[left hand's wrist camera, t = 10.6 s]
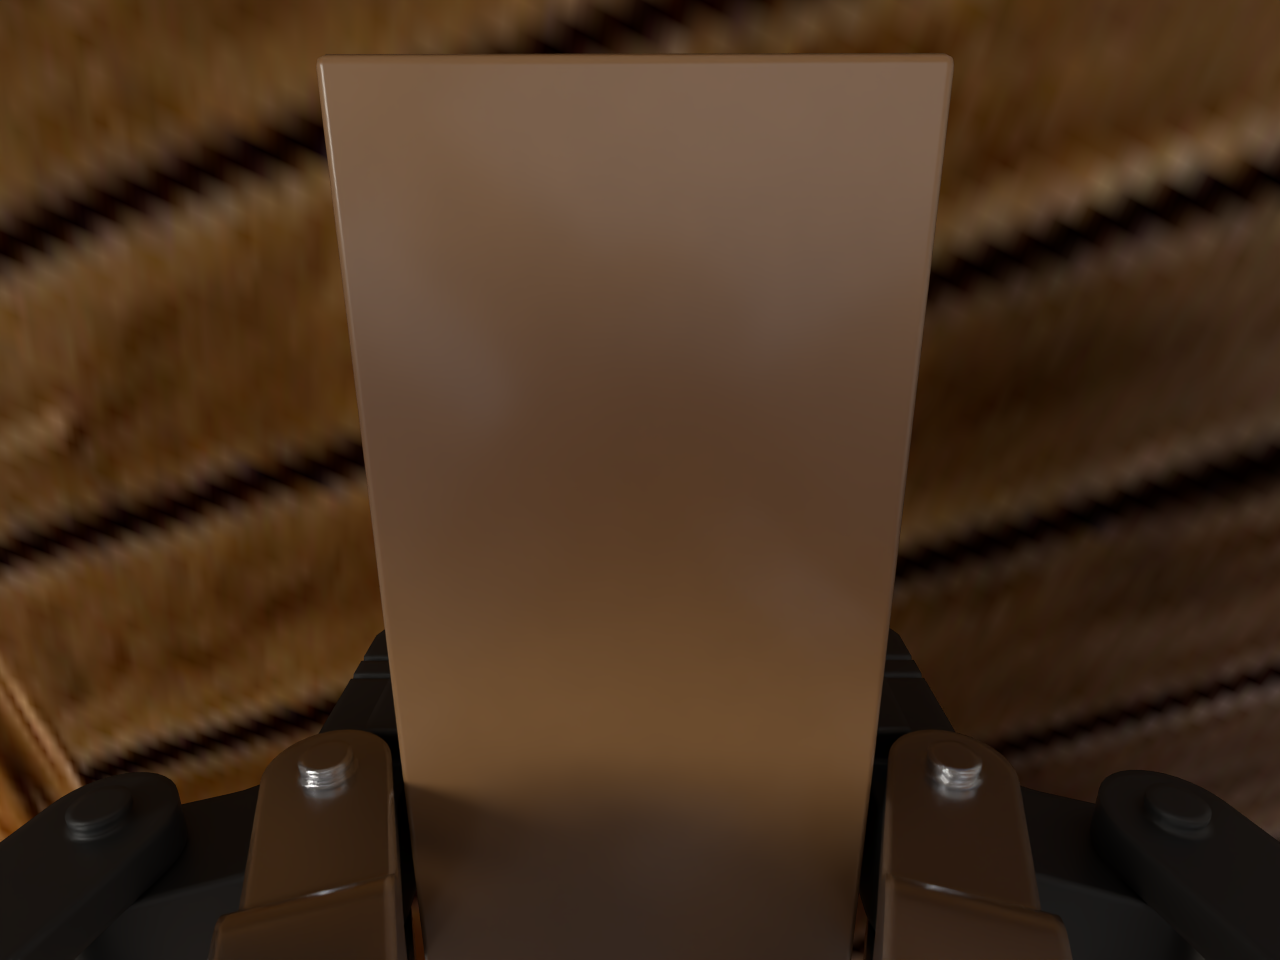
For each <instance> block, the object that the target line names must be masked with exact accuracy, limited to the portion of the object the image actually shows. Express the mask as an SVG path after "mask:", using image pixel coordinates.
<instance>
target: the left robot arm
mask: <svg viewBox="0 0 1280 960" xmlns="http://www.w3.org/2000/svg"><path fill="white" fill-rule="evenodd" d="M416 889H417V888H416V880H415V871H414V863H413V855H412V847H411V839H410V831H409V822H408V814H407V806H406V798H405V790H404V781H403V773H402V765H401V757H400V749H399V740H398V732H397V724H396V716H395V708H394V699H393V691H392V683H391V675H390V667H389V659H388V650H387V642H386V634H385V630H383V631H382V632H381V633H379V634H378V635H377V636H376V637H375V639H374V641H373V642H372V644H371V646H370V647H369V649H368V651H367V653H366V654H365V656H364V661H361V663H360V664H359V666H358V668H357V670H356V671H355V673H354V678H353V679H351V680H350V681H349V683H348V685H347V686H346V688H345V690H344V692H343V693H342V695H341V697H340V698H339V700H338V702H337V703H336V705H335V707H334V709H333V710H332V712H331V714H330V715H329V717H328V719H327V720H326V722H325V724H324V726H323V727H322V729H321V731H320V732H319V734H317V735H314V736H311V737H308V738H306V739H304V740H301V741H299V742H297V743H295V744H294V745H292V746H290V747H288V748H287V749H286V750H284V751H283V752H281V753H280V754H279V755H278V756H277V757H276V758H275V759H273V760H272V762H271V763H270V764H269V765H268V767H267V768H266V770H265V772H264V773H263V775H262V779H261V782H260V785H257V786H255V787H252V788H249V789H246V790H243V791H239V792H235V793H231V794H227V795H222V796H218V797H213V798H208V799H204V800H199V801H195V802H190V803H186V804H181V802H180V798H179V793H178V790H177V788H176V785H175V784H174V783H173V782H172V781H171V780H170V779H168V778H167V777H165V776H162V775H159V774H156V773H149V772H134V773H125V774H120V775H115V776H111V777H107V778H104V779H100V780H98V781H95V782H92V783H90V784H87V785H85V786H83V787H80V788H78V789H76V790H74V791H72V792H70V793H69V794H67V795H65V796H63V797H62V798H60V799H59V800H57V801H56V802H54V803H53V804H51V805H50V806H49V807H47V808H46V809H44V810H43V811H42V812H40V813H39V814H38V815H36V816H35V817H34V818H32V819H31V820H30V821H28V822H27V823H26V824H24V825H23V826H22V827H20V828H19V829H18V830H16V831H15V832H14V833H12V834H11V835H10V836H8V837H7V838H6V839H4V840H3V841H1V842H0V960H416V946H415V933H414V925H413V918H412V910H411V905H412V902H413V898H414V895H415V892H416ZM859 893H860V896H861V899H862V903H863V906H864V909H865V912H866V915H867V917H868V918H867V925H866V933H865V946H864V960H1280V842H1278V841H1277V840H1276V839H1274V838H1273V837H1272V836H1270V835H1269V834H1268V833H1266V832H1265V831H1264V830H1262V829H1261V828H1260V827H1258V826H1257V825H1256V824H1254V823H1253V822H1252V821H1250V820H1249V819H1248V818H1246V817H1245V816H1244V815H1242V814H1241V813H1240V812H1238V811H1237V810H1235V809H1234V808H1233V807H1231V806H1230V805H1229V804H1227V803H1226V802H1225V801H1223V800H1222V799H1220V798H1219V797H1217V796H1216V795H1214V794H1212V793H1211V792H1209V791H1207V790H1205V789H1204V788H1202V787H1199V786H1197V785H1195V784H1193V783H1191V782H1188V781H1186V780H1183V779H1180V778H1178V777H1174V776H1171V775H1167V774H1164V773H1159V772H1154V771H1145V770H1127V771H1120V772H1117V773H1114V774H1112V775H1110V776H1108V777H1107V778H1105V780H1104V781H1103V782H1102V783H1101V786H1100V788H1099V792H1098V796H1097V800H1096V804H1093V803H1089V802H1084V801H1080V800H1075V799H1071V798H1066V797H1062V796H1057V795H1053V794H1048V793H1044V792H1040V791H1036V790H1032V789H1028V788H1025V787H1023V786H1020V782H1019V779H1018V775H1017V773H1016V772H1015V770H1014V768H1013V767H1012V765H1011V764H1010V763H1009V762H1008V760H1007V759H1005V758H1004V757H1003V756H1002V755H1001V754H1000V753H999V752H997V751H996V750H994V749H993V748H992V747H990V746H988V745H986V744H985V743H983V742H981V741H979V740H976V739H974V738H972V737H969V736H966V735H963V734H960V733H956V732H955V731H954V729H953V727H952V725H951V724H950V722H949V720H948V719H947V717H946V715H945V713H944V712H943V710H942V708H941V706H940V705H939V703H938V701H937V700H936V698H935V696H934V694H933V693H932V691H931V689H930V688H929V686H928V684H927V682H926V681H925V679H924V678H922V677H921V672H920V670H919V669H918V667H917V665H916V663H915V662H914V660H911V655H910V653H909V651H908V650H907V648H906V646H905V644H904V643H903V641H902V639H901V637H900V636H899V635H898V634H897V633H896V632H894V631H893V630H892V629H890V628H889V634H888V643H887V651H886V660H885V669H884V677H883V686H882V695H881V703H880V712H879V721H878V729H877V738H876V747H875V755H874V764H873V773H872V781H871V790H870V799H869V807H868V816H867V825H866V833H865V842H864V851H863V859H862V868H861V877H860V885H859Z"/></svg>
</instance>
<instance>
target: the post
mask: <svg viewBox="0 0 1280 960" xmlns="http://www.w3.org/2000/svg"><path fill="white" fill-rule="evenodd" d="M316 69H317V77H318V85H319V93H320V102H321V110H322V118H323V126H324V134H325V143H326V151H327V159H328V167H329V175H330V183H331V192H332V200H333V208H334V216H335V224H336V233H337V241H338V249H339V257H340V265H341V274H342V282H343V290H344V298H345V306H346V315H347V323H348V331H349V339H350V347H351V355H352V364H353V372H354V380H355V388H356V396H357V405H358V413H359V421H360V429H361V437H362V446H363V454H364V462H365V470H366V478H367V487H368V495H369V503H370V511H371V519H372V527H373V536H374V544H375V552H376V560H377V568H378V577H379V585H380V593H381V601H382V609H383V618H384V626H385V634H386V642H387V650H388V659H389V667H390V675H391V683H392V691H393V699H394V708H395V716H396V724H397V732H398V740H399V749H400V757H401V765H402V773H403V781H404V790H405V798H406V806H407V814H408V822H409V831H410V839H411V847H412V855H413V863H414V871H415V880H416V888H417V896H418V904H419V912H420V921H421V929H422V937H423V945H424V953H425V960H851V955H852V946H853V937H854V929H855V920H856V911H857V903H858V894H859V885H860V877H861V868H862V859H863V851H864V842H865V833H866V825H867V816H868V807H869V799H870V790H871V781H872V773H873V764H874V755H875V747H876V738H877V729H878V721H879V712H880V703H881V695H882V686H883V677H884V669H885V660H886V651H887V643H888V634H889V625H890V617H891V608H892V599H893V591H894V582H895V573H896V565H897V556H898V547H899V539H900V530H901V521H902V513H903V504H904V495H905V487H906V478H907V469H908V461H909V452H910V443H911V435H912V426H913V417H914V409H915V400H916V391H917V383H918V374H919V365H920V357H921V348H922V339H923V331H924V322H925V313H926V305H927V296H928V287H929V279H930V270H931V261H932V253H933V244H934V235H935V227H936V218H937V209H938V201H939V192H940V183H941V175H942V166H943V157H944V149H945V140H946V131H947V123H948V114H949V105H950V97H951V88H952V79H953V71H954V63H953V58H952V57H951V56H949V55H947V54H945V53H783V54H326V55H324V56H322V57H320V58H318V60H317V66H316Z"/></svg>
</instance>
